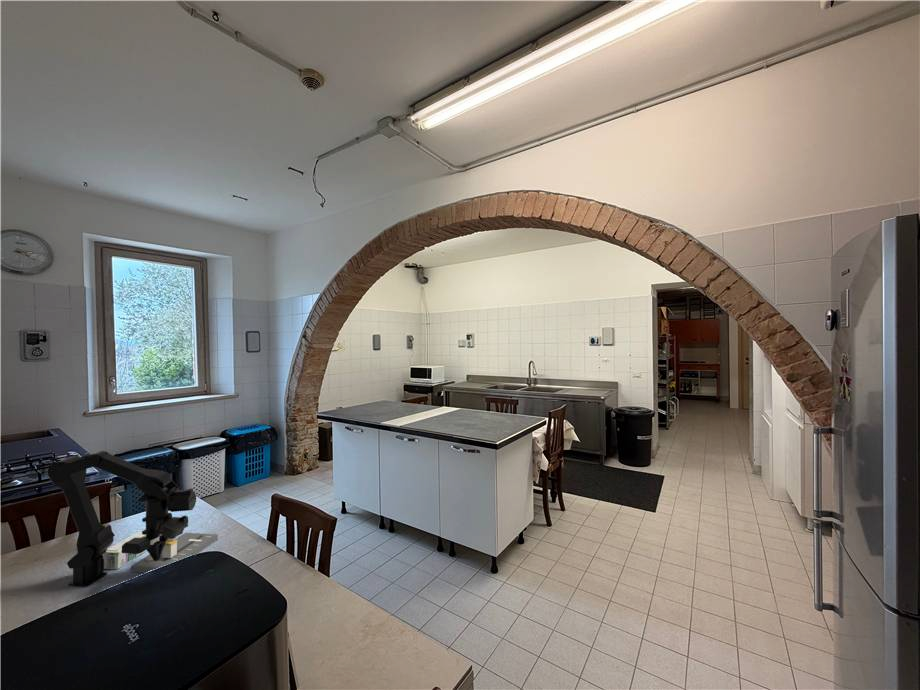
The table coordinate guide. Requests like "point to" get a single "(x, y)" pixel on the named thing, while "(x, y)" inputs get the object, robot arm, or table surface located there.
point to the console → (185, 547)
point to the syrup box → (120, 554)
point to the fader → (170, 548)
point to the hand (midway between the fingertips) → (156, 560)
